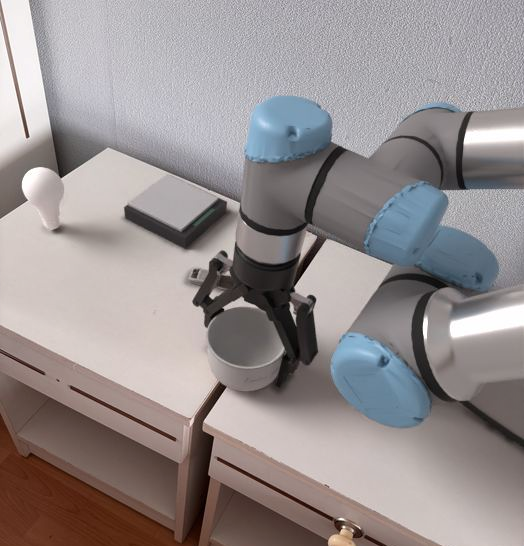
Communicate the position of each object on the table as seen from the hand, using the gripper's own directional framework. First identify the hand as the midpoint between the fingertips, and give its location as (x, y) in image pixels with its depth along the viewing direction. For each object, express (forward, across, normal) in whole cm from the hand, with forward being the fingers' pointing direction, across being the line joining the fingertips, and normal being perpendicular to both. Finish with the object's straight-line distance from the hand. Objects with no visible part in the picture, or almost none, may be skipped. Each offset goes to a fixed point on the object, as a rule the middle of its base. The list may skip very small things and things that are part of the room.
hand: (247, 361), depth 74 cm
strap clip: (+1, +13, -11) cm, 17 cm away
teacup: (0, 0, 0) cm, 1 cm away
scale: (0, +28, -21) cm, 35 cm away
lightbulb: (+1, +42, -5) cm, 42 cm away
